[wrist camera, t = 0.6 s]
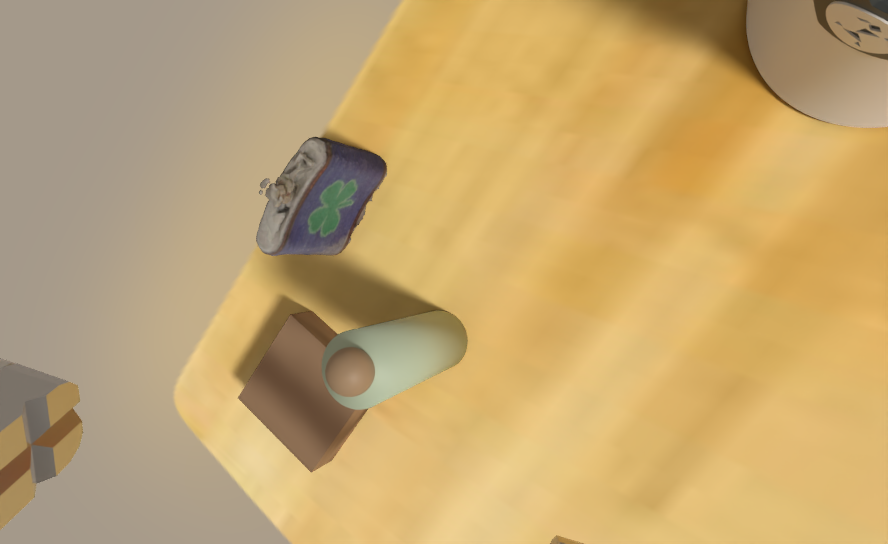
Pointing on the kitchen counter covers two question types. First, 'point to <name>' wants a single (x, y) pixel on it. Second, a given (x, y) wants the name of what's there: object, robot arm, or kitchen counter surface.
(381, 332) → the pepper mill
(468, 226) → the kitchen counter surface
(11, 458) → the robot arm
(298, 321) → the plinth
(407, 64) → the kitchen counter surface
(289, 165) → the flask
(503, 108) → the kitchen counter surface
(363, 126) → the kitchen counter surface
